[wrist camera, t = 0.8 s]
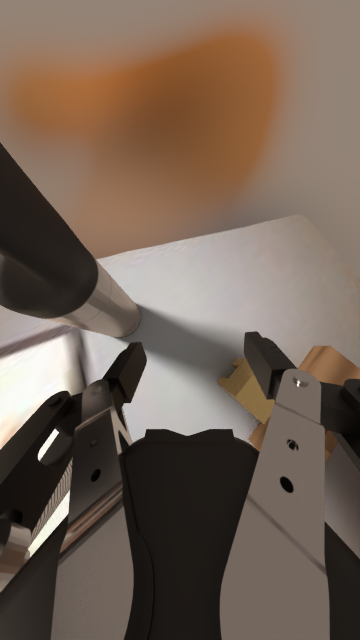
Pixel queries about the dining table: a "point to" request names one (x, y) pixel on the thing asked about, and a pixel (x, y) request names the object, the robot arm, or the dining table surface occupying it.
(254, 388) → the tan boxy piece
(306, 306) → the dining table surface
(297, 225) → the dining table surface
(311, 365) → the brown flat wooden block
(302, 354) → the dining table surface
